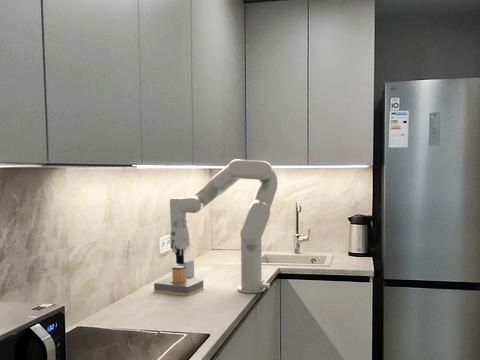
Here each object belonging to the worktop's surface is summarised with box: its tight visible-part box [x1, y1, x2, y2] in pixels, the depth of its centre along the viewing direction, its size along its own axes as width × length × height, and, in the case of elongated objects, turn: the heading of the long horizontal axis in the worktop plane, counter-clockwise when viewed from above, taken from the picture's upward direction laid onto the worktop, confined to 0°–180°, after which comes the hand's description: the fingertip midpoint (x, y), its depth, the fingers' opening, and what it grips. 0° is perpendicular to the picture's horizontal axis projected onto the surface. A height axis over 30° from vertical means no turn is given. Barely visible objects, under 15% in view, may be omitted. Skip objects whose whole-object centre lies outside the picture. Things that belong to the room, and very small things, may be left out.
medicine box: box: [177, 259, 195, 279], centre depth 252 cm, size 8×4×9 cm, turn 149°
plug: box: [171, 265, 186, 284], centre depth 224 cm, size 4×4×10 cm
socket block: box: [153, 276, 204, 296], centre depth 224 cm, size 18×14×4 cm
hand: (180, 263), depth 224 cm, fingers closed
